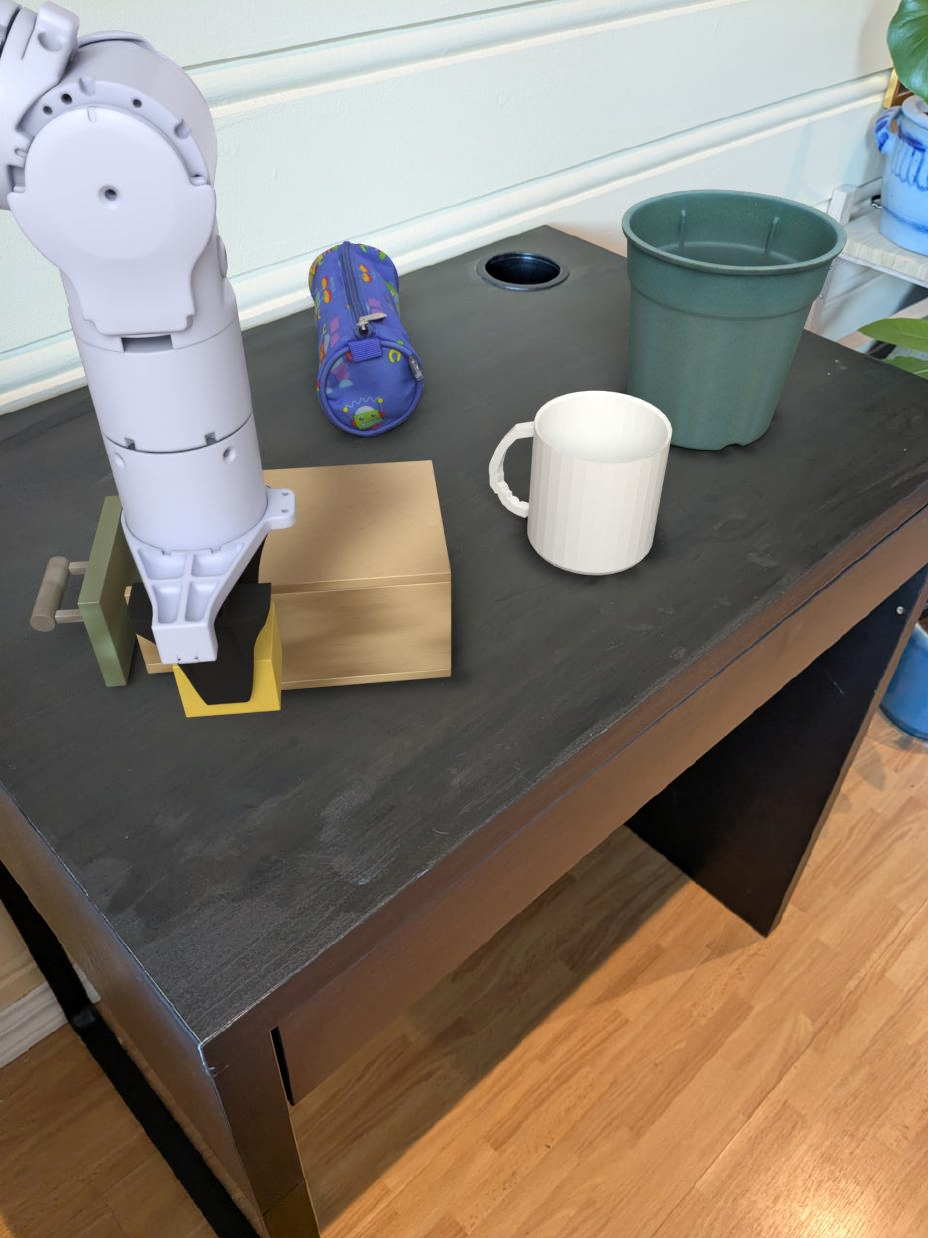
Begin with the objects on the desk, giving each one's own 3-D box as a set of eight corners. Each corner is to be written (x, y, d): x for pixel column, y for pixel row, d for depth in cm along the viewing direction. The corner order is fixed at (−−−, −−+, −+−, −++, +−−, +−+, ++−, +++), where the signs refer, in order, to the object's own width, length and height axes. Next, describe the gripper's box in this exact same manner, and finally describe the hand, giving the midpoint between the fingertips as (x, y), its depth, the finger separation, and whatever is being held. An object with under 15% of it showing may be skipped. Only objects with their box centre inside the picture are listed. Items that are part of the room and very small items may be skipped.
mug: (670, 523, 71) (691, 412, 65) (623, 593, 65) (641, 478, 59) (525, 477, 75) (531, 368, 69) (468, 538, 69) (470, 426, 63)
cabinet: (230, 694, 58) (206, 589, 52) (240, 574, 66) (220, 471, 61) (451, 677, 59) (451, 572, 54) (433, 560, 68) (431, 459, 62)
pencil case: (427, 441, 79) (425, 332, 72) (322, 449, 78) (310, 339, 71) (399, 322, 95) (395, 223, 88) (311, 327, 94) (301, 228, 87)
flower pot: (562, 395, 85) (579, 207, 74) (707, 352, 91) (741, 174, 80) (681, 489, 74) (721, 287, 63) (836, 434, 80) (896, 241, 69)
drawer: (38, 692, 57) (2, 608, 52) (69, 581, 64) (40, 499, 60) (316, 671, 58) (304, 587, 54) (314, 564, 66) (304, 483, 61)
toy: (186, 718, 45) (165, 641, 42) (193, 658, 48) (174, 582, 45) (280, 710, 46) (267, 634, 42) (282, 651, 49) (269, 576, 45)
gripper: (277, 520, 32) (316, 776, 41) (286, 323, 42) (315, 562, 52) (57, 533, 31) (146, 791, 40) (122, 330, 42) (181, 571, 51)
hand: (231, 663), depth 46 cm, fingers closed on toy, 4 cm apart
